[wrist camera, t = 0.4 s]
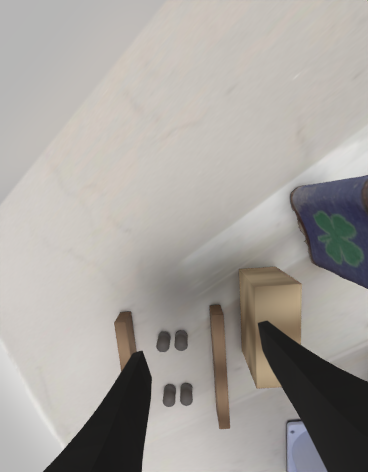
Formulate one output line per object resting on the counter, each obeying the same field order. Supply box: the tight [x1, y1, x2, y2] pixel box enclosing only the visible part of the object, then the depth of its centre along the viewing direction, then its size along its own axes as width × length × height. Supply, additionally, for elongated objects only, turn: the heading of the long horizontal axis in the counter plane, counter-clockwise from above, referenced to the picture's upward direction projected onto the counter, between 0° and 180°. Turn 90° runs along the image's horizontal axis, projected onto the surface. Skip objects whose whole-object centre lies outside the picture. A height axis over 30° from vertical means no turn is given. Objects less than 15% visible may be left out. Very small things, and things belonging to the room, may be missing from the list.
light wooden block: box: [239, 267, 302, 389], centre depth 20 cm, size 10×4×5 cm, turn 4°
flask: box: [291, 175, 368, 289], centre depth 15 cm, size 9×3×11 cm, turn 23°
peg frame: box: [114, 305, 230, 429], centre depth 22 cm, size 14×11×2 cm
